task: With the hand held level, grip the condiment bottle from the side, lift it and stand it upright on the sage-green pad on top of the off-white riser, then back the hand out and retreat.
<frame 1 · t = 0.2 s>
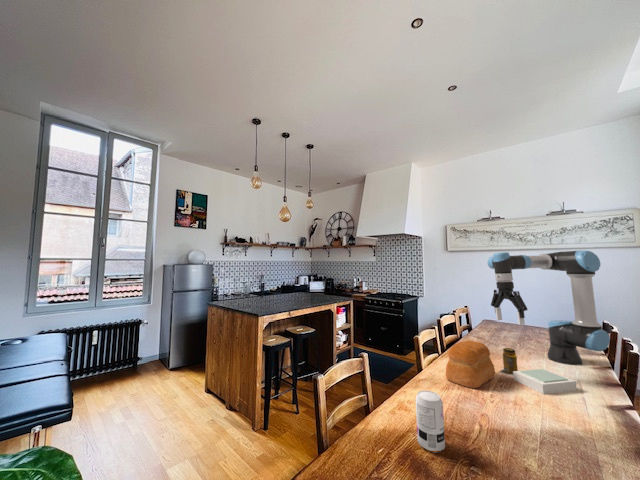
hand: (510, 322, 138), 27 cm above the table, tool pointing down, fingers open, 13 cm apart
bread: (470, 378, 134), on the table
condiment: (509, 373, 140), on the table
supplement can: (431, 445, 84), on the table
riser: (543, 384, 125), on the table
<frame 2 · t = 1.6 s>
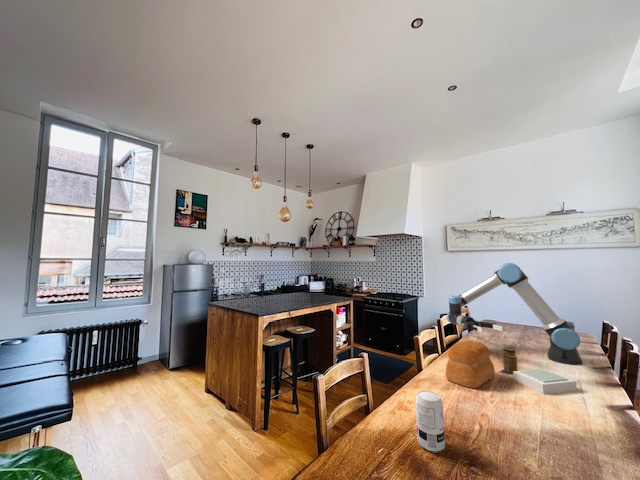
hand: (492, 329, 151), 20 cm above the table, tool horizontal, fingers open, 13 cm apart
nothing on the table moved.
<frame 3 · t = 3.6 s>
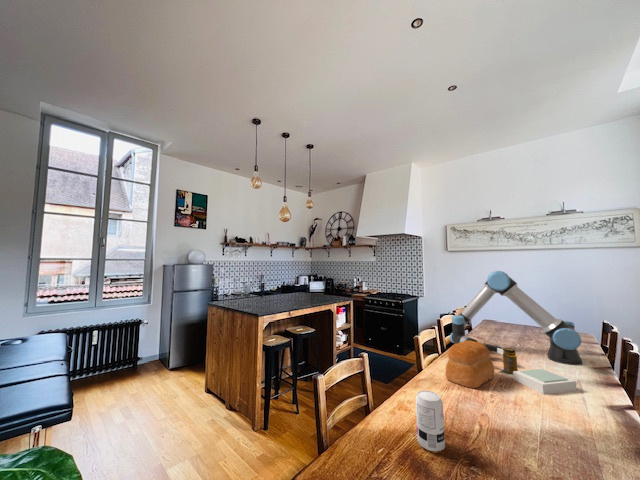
hand: (496, 354, 148), 7 cm above the table, tool horizontal, fingers open, 13 cm apart
nothing on the table moved.
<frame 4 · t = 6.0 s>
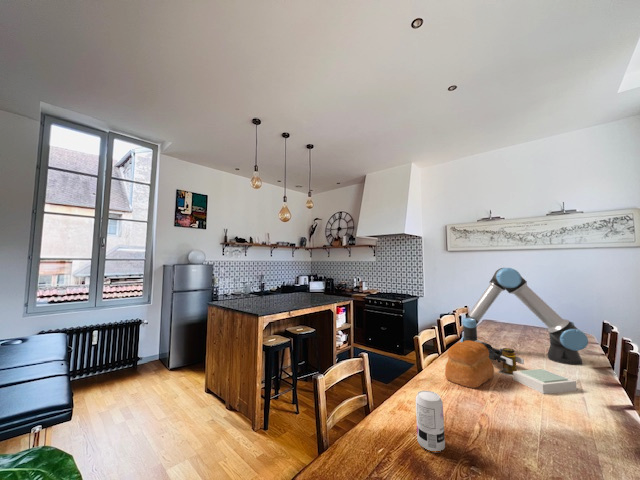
hand: (517, 362, 136), 7 cm above the table, tool horizontal, fingers closed on condiment, 6 cm apart
condiment: (508, 373, 140), on the table, touching gripper
everything else where it was.
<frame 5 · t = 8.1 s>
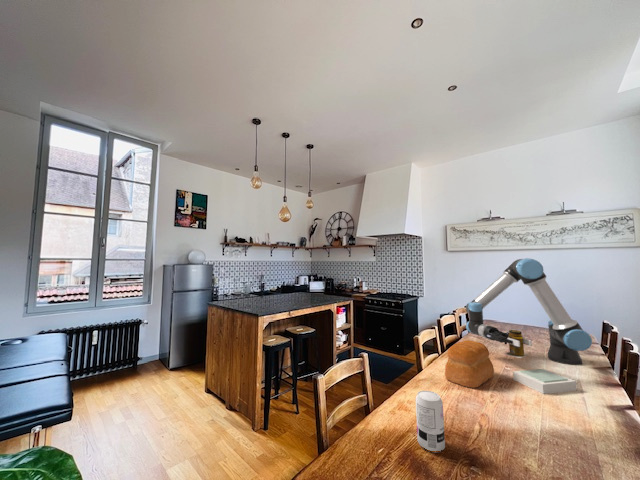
hand: (525, 343, 132), 18 cm above the table, tool horizontal, fingers closed on condiment, 6 cm apart
condiment: (515, 355, 136), point 11 cm above the table, touching gripper
everything else where it was.
when the fingers open (13 cm above the table, at t = 10.4 s): condiment drops 1 cm, resting on riser.
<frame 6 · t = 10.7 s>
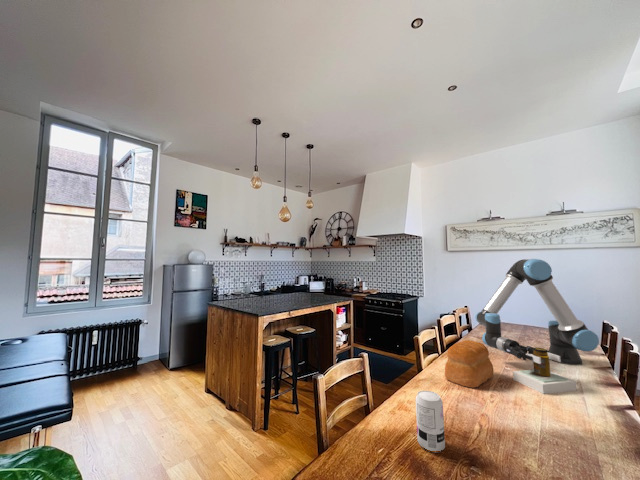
hand: (550, 360, 123), 13 cm above the table, tool horizontal, fingers open, 10 cm apart
condiment: (541, 375, 126), point 4 cm above the table, touching riser
everything else where it was.
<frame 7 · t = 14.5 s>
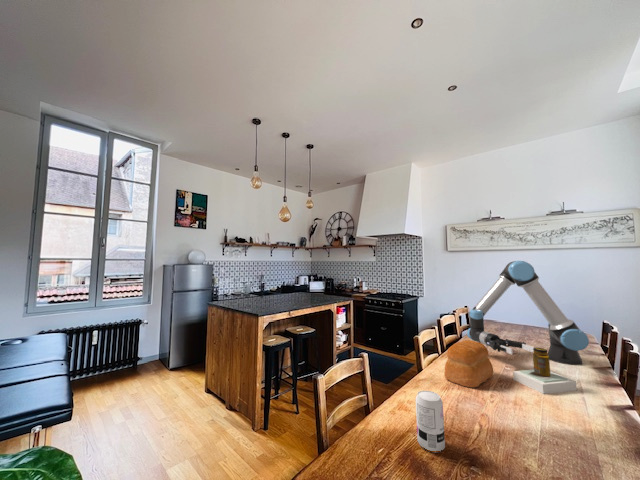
hand: (523, 350, 136), 13 cm above the table, tool horizontal, fingers open, 13 cm apart
nothing on the table moved.
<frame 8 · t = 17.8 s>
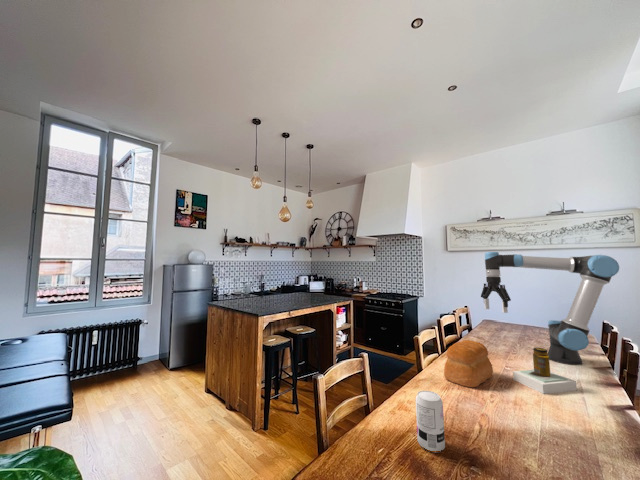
hand: (495, 310, 164), 29 cm above the table, tool pointing down, fingers open, 13 cm apart
nothing on the table moved.
at the end: condiment inside the target area on the riser (1.0 cm from its centre), point 4.4 cm above the riser's base; condiment tilted 0°; the gripper is holding nothing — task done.
